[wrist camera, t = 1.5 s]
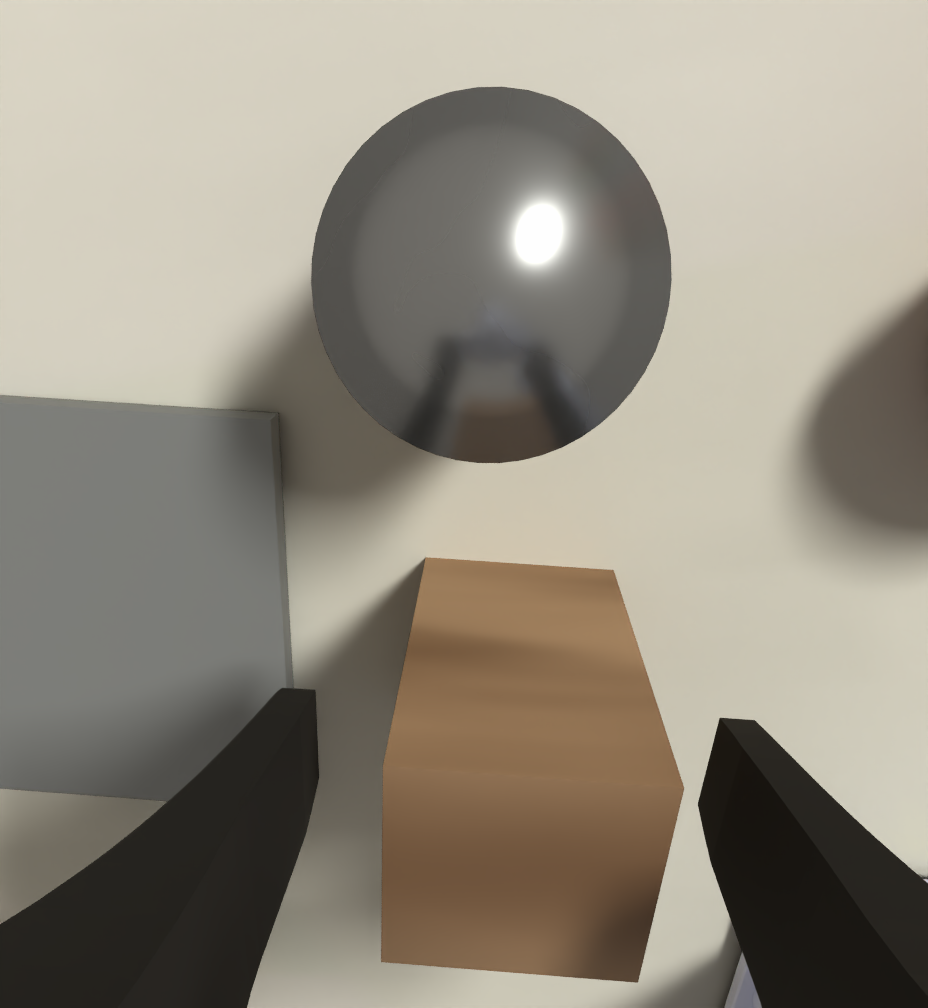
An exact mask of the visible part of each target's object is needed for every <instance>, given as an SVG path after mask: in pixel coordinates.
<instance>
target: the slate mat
mask: <svg viewBox="0 0 928 1008" xmlns="http://www.w3.org/2000/svg"><path fill="white" fill-rule="evenodd" d="M281 688H292V689H293V671H292V653H291V635H290V617H289V599H288V581H287V563H286V545H285V527H284V509H283V491H282V473H281V455H280V437H279V419H278V413H271V412H255V411H240V410H224V409H208V408H193V407H177V406H161V405H146V404H130V403H114V402H99V401H83V400H67V399H52V398H36V397H21V396H5V395H0V789H14V790H27V791H40V792H53V793H67V794H80V795H93V796H107V797H120V798H133V799H146V800H160V801H169V800H170V799H171V798H172V797H173V796H174V795H176V794H177V793H178V792H179V791H180V790H181V789H182V788H183V787H184V786H185V785H187V784H188V783H189V782H190V781H191V780H192V779H193V778H194V777H195V776H196V775H197V774H198V773H199V772H201V771H202V770H203V769H204V768H205V767H206V766H207V765H208V764H209V763H210V762H211V761H212V760H213V759H214V758H215V757H216V756H217V755H218V754H219V753H220V752H221V751H222V750H223V749H224V748H225V747H226V746H227V745H228V744H229V743H230V742H231V740H232V739H233V738H234V737H235V736H236V735H237V734H238V733H239V732H240V731H241V730H242V729H243V728H244V727H245V726H246V725H247V724H248V722H249V721H250V720H251V719H252V718H253V717H254V716H255V715H256V714H257V713H258V712H259V711H260V709H261V708H262V707H263V706H264V705H265V704H266V703H267V702H268V701H269V699H270V698H271V697H272V696H273V695H274V694H275V693H276V692H277V691H278V690H280V689H281Z"/></svg>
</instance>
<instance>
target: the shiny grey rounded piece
mask: <svg viewBox="0 0 928 1008" xmlns="http://www.w3.org/2000/svg"><path fill="white" fill-rule="evenodd" d="M311 285H312V296H313V306H314V312H315V316H316V321H317V325H318V330H319V333H320V336H321V339H322V341H323V344H324V347H325V350H326V353H327V355H328V357H329V359H330V361H331V363H332V365H333V367H334V369H335V371H336V373H337V374H338V376H339V377H340V379H341V380H342V382H343V384H344V385H345V387H346V388H347V390H348V391H349V393H350V394H351V395H352V396H353V397H354V398H355V400H356V401H357V402H358V403H359V404H360V405H361V407H362V408H363V409H364V410H365V411H366V412H367V413H368V414H369V415H371V416H372V417H373V418H374V419H375V420H376V421H377V422H378V423H379V424H380V425H382V426H383V427H385V428H386V429H387V430H389V431H390V432H392V433H393V434H394V435H396V436H397V437H399V438H401V439H403V440H405V441H406V442H408V443H410V444H412V445H414V446H416V447H418V448H420V449H423V450H425V451H428V452H430V453H433V454H436V455H439V456H443V457H447V458H451V459H455V460H460V461H468V462H476V463H503V462H511V461H519V460H524V459H528V458H532V457H536V456H540V455H543V454H546V453H548V452H551V451H554V450H556V449H559V448H562V447H563V446H565V445H567V444H569V443H571V442H573V441H575V440H577V439H579V438H580V437H582V436H583V435H585V434H586V433H588V432H589V431H591V430H592V429H593V428H595V427H596V426H598V425H599V424H600V423H601V422H603V421H604V420H605V419H606V418H607V417H608V416H609V415H610V414H611V413H613V412H614V411H615V410H616V409H617V408H618V407H619V405H620V404H621V403H622V402H623V401H624V400H625V399H626V397H627V396H628V395H629V394H630V393H631V392H632V390H633V389H634V387H635V386H636V384H637V383H638V381H639V380H640V378H641V377H642V375H643V374H644V372H645V370H646V368H647V366H648V365H649V363H650V361H651V359H652V357H653V355H654V353H655V351H656V348H657V345H658V342H659V340H660V337H661V334H662V331H663V329H664V324H665V320H666V316H667V311H668V307H669V299H670V289H671V254H670V247H669V241H668V234H667V229H666V226H665V222H664V219H663V215H662V212H661V209H660V205H659V203H658V201H657V199H656V196H655V194H654V192H653V190H652V187H651V185H650V183H649V181H648V180H647V178H646V176H645V175H644V173H643V172H642V170H641V168H640V167H639V165H638V164H637V162H636V160H635V159H634V158H633V157H632V156H631V154H630V153H629V152H628V151H627V150H626V148H625V147H624V146H623V145H622V144H621V142H620V141H619V140H618V139H617V138H616V137H614V136H613V135H612V134H611V133H610V132H609V131H608V130H607V129H605V128H604V127H603V126H602V125H601V124H600V123H599V122H597V121H596V120H594V119H593V118H591V117H589V116H588V115H586V114H585V113H583V112H582V111H580V110H579V109H577V108H575V107H573V106H571V105H569V104H566V103H564V102H562V101H560V100H558V99H556V98H553V97H550V96H546V95H543V94H540V93H536V92H533V91H529V90H522V89H515V88H507V87H477V88H471V89H465V90H459V91H454V92H449V93H446V94H443V95H440V96H437V97H434V98H431V99H428V100H426V101H424V102H422V103H420V104H418V105H416V106H414V107H412V108H410V109H408V110H406V111H404V112H402V113H401V114H399V115H398V116H396V117H395V118H394V119H392V120H391V121H389V122H388V123H387V124H385V125H384V126H382V127H381V128H380V129H379V130H378V131H377V132H376V133H375V134H374V135H372V136H371V137H370V138H369V139H368V140H367V141H366V142H365V143H364V144H363V145H362V146H361V147H360V149H359V150H358V151H357V152H356V154H355V155H354V156H353V157H352V159H351V160H350V161H349V162H348V163H347V165H346V166H345V168H344V170H343V171H342V173H341V175H340V176H339V178H338V180H337V181H336V183H335V185H334V186H333V188H332V191H331V193H330V195H329V197H328V200H327V202H326V204H325V207H324V209H323V212H322V215H321V218H320V222H319V225H318V229H317V232H316V237H315V243H314V250H313V256H312V278H311Z"/></svg>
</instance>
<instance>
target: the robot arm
mask: <svg viewBox="0 0 928 1008" xmlns="http://www.w3.org/2000/svg"><path fill="white" fill-rule="evenodd" d="M318 780H319V764H318V740H317V716H316V692H315V690H307V689H292V688H281V689H280V690H278V691H277V692H276V693H275V694H274V695H273V696H272V697H271V698H270V699H269V701H268V702H267V703H266V704H265V705H264V706H263V707H262V708H261V709H260V711H259V712H258V713H257V714H256V715H255V716H254V717H253V718H252V719H251V720H250V721H249V722H248V724H247V725H246V726H245V727H244V728H243V729H242V730H241V731H240V732H239V733H238V734H237V735H236V736H235V737H234V738H233V739H232V740H231V742H230V743H229V744H228V745H227V746H226V747H225V748H224V749H223V750H222V751H221V752H220V753H219V754H218V755H217V756H216V757H215V758H214V759H213V760H212V761H211V762H210V763H209V764H208V765H207V766H206V767H205V768H204V769H203V770H202V771H201V772H199V773H198V774H197V775H196V776H195V777H194V778H193V779H192V780H191V781H190V782H189V783H188V784H187V785H185V786H184V787H183V788H182V789H181V790H180V791H179V792H178V793H177V794H176V795H174V796H173V797H172V798H171V799H170V800H169V801H168V802H167V803H166V804H165V805H163V806H162V807H161V808H160V809H159V810H158V811H157V812H156V813H154V814H153V815H152V816H151V817H150V818H148V819H147V820H146V821H145V822H144V823H143V824H141V825H140V826H139V827H138V828H137V829H135V830H134V831H133V832H132V833H130V834H129V835H128V836H127V837H125V838H124V839H123V840H122V841H120V842H119V843H118V844H116V845H115V846H114V847H113V848H111V849H110V850H109V851H107V852H106V853H105V854H104V855H102V856H101V857H100V858H98V859H97V860H95V861H94V862H93V863H91V864H90V865H88V866H87V867H86V868H84V869H83V870H82V871H80V872H79V873H77V874H76V875H74V876H73V877H72V878H70V879H69V880H67V881H66V882H64V883H63V884H61V885H60V886H59V887H57V888H56V889H54V890H53V891H51V892H50V893H48V894H47V895H46V896H44V897H43V898H41V899H40V900H38V901H37V902H35V903H34V904H32V905H30V906H29V907H27V908H26V909H24V910H23V911H21V912H19V913H18V914H16V915H15V916H13V917H11V918H10V919H8V920H7V921H5V922H3V923H2V924H0V1008H247V1005H248V1001H249V997H250V993H251V990H252V987H253V984H254V981H255V977H256V974H257V971H258V968H259V965H260V962H261V959H262V956H263V953H264V950H265V948H266V945H267V942H268V939H269V936H270V934H271V931H272V928H273V925H274V922H275V920H276V917H277V914H278V911H279V908H280V906H281V903H282V900H283V897H284V894H285V892H286V889H287V886H288V883H289V880H290V878H291V875H292V872H293V869H294V866H295V863H296V861H297V858H298V855H299V852H300V849H301V846H302V843H303V840H304V838H305V835H306V831H307V827H308V823H309V819H310V815H311V810H312V806H313V802H314V797H315V793H316V789H317V784H318ZM698 807H699V812H700V816H701V821H702V826H703V831H704V835H705V840H706V844H707V848H708V852H709V857H710V861H711V864H712V867H713V870H714V873H715V876H716V879H717V882H718V885H719V887H720V890H721V893H722V896H723V899H724V902H725V905H726V908H727V910H728V913H729V916H730V919H731V922H732V924H733V927H734V930H735V933H736V936H737V938H738V941H739V944H740V947H741V950H742V954H741V957H740V960H739V963H738V966H737V969H736V973H735V976H734V979H733V982H732V985H731V988H730V991H729V994H728V997H727V1000H726V1004H725V1007H724V1008H928V879H922V878H921V877H920V876H919V875H918V874H916V873H915V872H914V871H913V870H912V869H910V868H909V867H908V866H907V865H906V864H905V863H904V862H902V861H901V860H900V859H899V858H898V857H897V856H896V855H894V854H893V853H892V852H891V851H890V850H889V849H888V848H886V847H885V846H884V845H883V844H882V843H881V842H880V841H878V840H877V839H876V838H875V837H874V836H873V835H872V834H871V833H870V832H869V831H867V830H866V829H865V828H864V827H863V826H862V825H861V824H860V823H859V822H858V821H857V820H856V819H854V818H853V817H852V816H851V815H850V814H849V813H848V812H847V811H846V810H845V809H844V808H843V807H842V806H841V805H840V804H839V803H838V802H837V801H836V800H835V799H834V798H832V797H831V796H830V795H829V794H828V793H827V792H826V791H825V790H824V789H823V788H822V787H821V786H820V785H819V784H818V783H817V782H816V781H815V780H814V779H813V778H812V777H811V776H810V775H809V774H808V773H807V772H806V771H805V770H804V769H803V768H802V767H801V766H800V765H799V764H798V763H797V762H796V761H795V760H794V759H793V758H792V757H791V756H790V755H789V754H788V753H787V752H786V751H785V750H784V749H783V748H782V747H781V746H780V745H779V744H778V743H777V742H776V741H775V740H774V739H773V738H772V737H771V736H770V735H769V734H768V733H767V732H766V731H765V730H764V729H763V728H762V727H761V726H760V725H759V724H758V723H757V722H756V721H755V720H743V719H729V718H720V719H719V723H718V727H717V731H716V735H715V739H714V743H713V747H712V751H711V754H710V758H709V762H708V766H707V770H706V774H705V778H704V782H703V786H702V790H701V794H700V798H699V802H698Z"/></svg>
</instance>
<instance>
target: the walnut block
mask: <svg viewBox="0 0 928 1008" xmlns="http://www.w3.org/2000/svg"><path fill="white" fill-rule="evenodd" d="M683 791H684V786H683V783H682V780H681V777H680V774H679V771H678V768H677V764H676V761H675V758H674V755H673V752H672V749H671V746H670V743H669V740H668V737H667V734H666V731H665V727H664V724H663V721H662V718H661V715H660V712H659V709H658V706H657V703H656V700H655V697H654V694H653V690H652V687H651V684H650V681H649V678H648V675H647V672H646V669H645V666H644V663H643V660H642V657H641V653H640V650H639V647H638V644H637V641H636V638H635V635H634V632H633V629H632V626H631V623H630V620H629V616H628V613H627V610H626V607H625V604H624V601H623V598H622V595H621V592H620V589H619V586H618V583H617V579H616V576H615V573H614V570H603V569H588V568H573V567H559V566H544V565H529V564H514V563H500V562H485V561H470V560H456V559H441V558H426V559H425V564H424V569H423V574H422V579H421V583H420V588H419V593H418V598H417V603H416V608H415V613H414V617H413V622H412V627H411V632H410V637H409V642H408V647H407V651H406V656H405V661H404V666H403V671H402V676H401V680H400V685H399V690H398V695H397V700H396V705H395V710H394V714H393V719H392V724H391V729H390V734H389V739H388V744H387V748H386V753H385V758H384V763H383V816H382V935H381V962H388V963H401V964H413V965H426V966H438V967H451V968H463V969H476V970H488V971H500V972H513V973H525V974H538V975H550V976H563V977H575V978H588V979H600V980H613V981H625V982H638V980H639V975H640V971H641V967H642V963H643V959H644V954H645V950H646V946H647V942H648V938H649V934H650V929H651V925H652V921H653V917H654V913H655V908H656V904H657V900H658V896H659V892H660V887H661V883H662V879H663V875H664V871H665V867H666V862H667V858H668V854H669V850H670V846H671V841H672V837H673V833H674V829H675V825H676V820H677V816H678V812H679V808H680V804H681V800H682V795H683Z"/></svg>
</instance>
